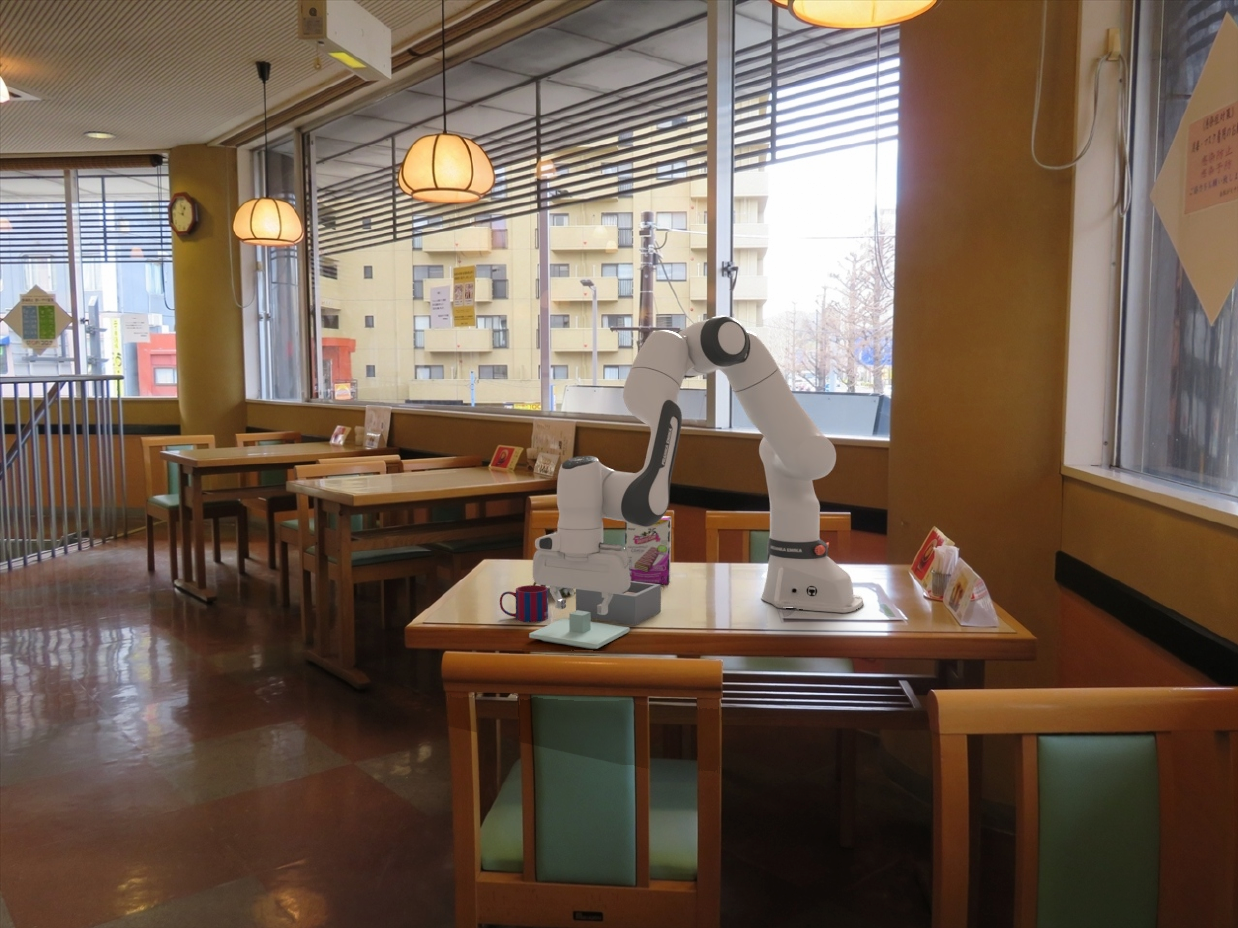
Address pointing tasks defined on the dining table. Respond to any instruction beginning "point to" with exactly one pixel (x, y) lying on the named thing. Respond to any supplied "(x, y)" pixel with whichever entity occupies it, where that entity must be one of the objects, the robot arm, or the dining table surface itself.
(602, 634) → the lid
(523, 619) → the mug
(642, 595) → the box
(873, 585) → the dining table surface
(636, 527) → the candy bar box
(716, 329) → the robot arm
